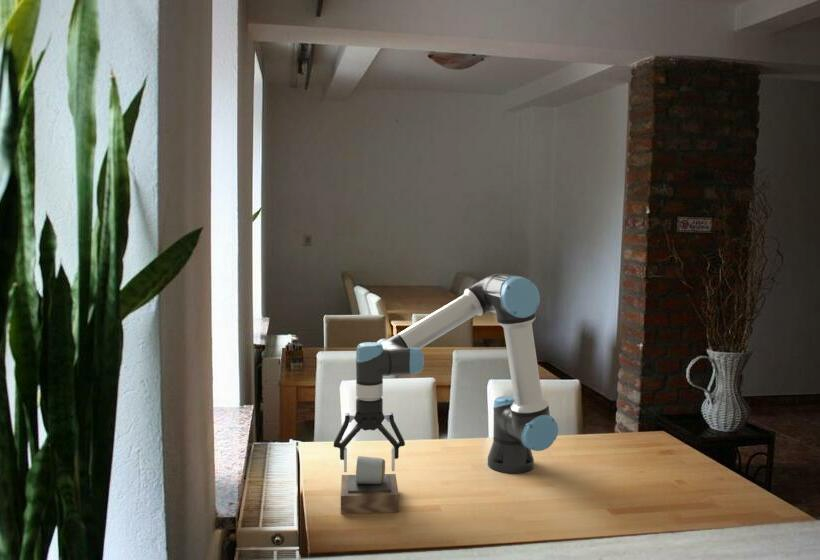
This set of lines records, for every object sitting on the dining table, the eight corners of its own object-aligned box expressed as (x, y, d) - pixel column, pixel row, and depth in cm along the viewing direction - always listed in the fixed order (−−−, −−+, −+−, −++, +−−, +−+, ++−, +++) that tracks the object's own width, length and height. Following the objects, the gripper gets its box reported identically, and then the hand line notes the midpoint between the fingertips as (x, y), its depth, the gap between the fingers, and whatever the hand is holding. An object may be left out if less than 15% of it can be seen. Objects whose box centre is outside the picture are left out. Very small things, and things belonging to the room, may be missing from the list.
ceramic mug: (384, 487, 205) (384, 461, 204) (355, 487, 205) (355, 460, 204) (385, 474, 215) (385, 449, 215) (357, 474, 215) (357, 449, 215)
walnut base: (395, 490, 218) (395, 471, 218) (398, 512, 202) (398, 492, 202) (341, 491, 217) (341, 472, 216) (340, 513, 201) (340, 493, 201)
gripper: (412, 393, 211) (411, 464, 213) (325, 394, 209) (326, 466, 212) (414, 400, 204) (413, 473, 206) (324, 401, 202) (324, 475, 204)
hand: (369, 470), depth 209 cm, fingers open, 13 cm apart
